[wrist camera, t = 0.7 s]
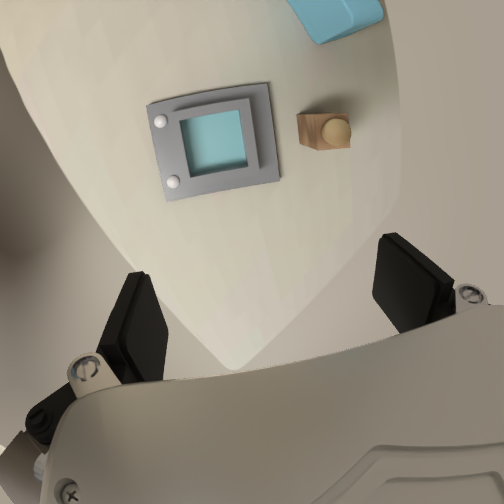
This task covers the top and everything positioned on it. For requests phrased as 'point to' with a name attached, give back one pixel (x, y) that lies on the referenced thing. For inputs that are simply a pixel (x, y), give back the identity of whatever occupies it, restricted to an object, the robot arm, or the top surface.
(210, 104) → the frame
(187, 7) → the top surface
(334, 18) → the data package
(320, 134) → the wooden block with knob
